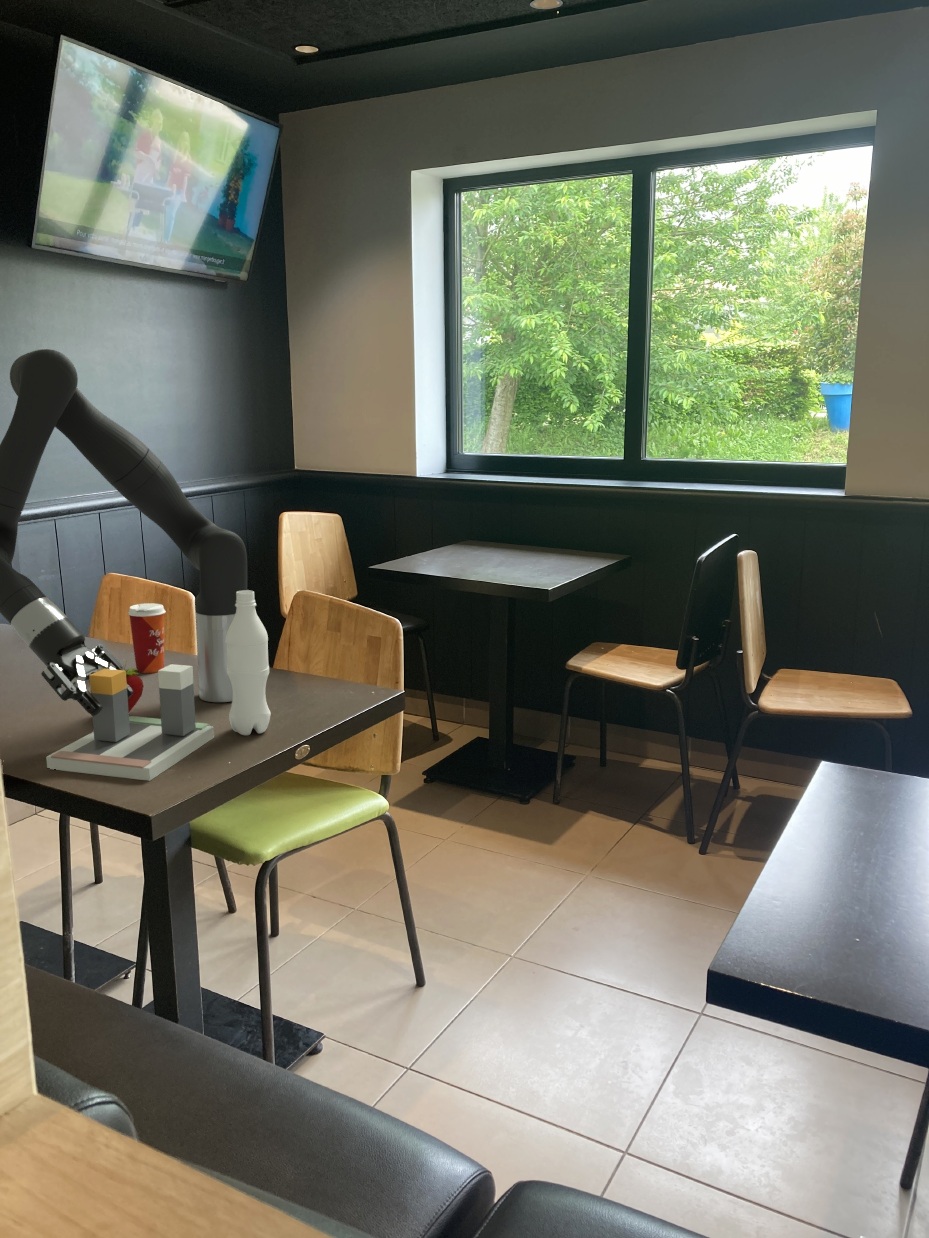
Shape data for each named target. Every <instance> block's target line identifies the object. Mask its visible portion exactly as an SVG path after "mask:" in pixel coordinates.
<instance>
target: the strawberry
mask: <svg viewBox="0 0 929 1238" xmlns="http://www.w3.org/2000/svg"><path fill="white" fill-rule="evenodd" d="M127 662H128V661H127V660H126V661H125V665H124V668H125V669H124V670H126V667H127ZM137 670H138V669H137V668H135V669H134V668H133V669H132V668H131V669H128V670H127V671H126V681H127V684H128V685H129V686H130V687H131V689H132V690H133V695H132V696H131V697H130V698H129V699H128V711H129V713H131V711H132V709H133V708H134V707H135V706H136V705H137V703H138V702H139V700H140V698H141V697H142V695H143V691H144V683H143V679H141V678H140V676H138V675H140V672H137Z"/></svg>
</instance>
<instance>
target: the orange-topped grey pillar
mask: <svg viewBox="0 0 929 1238" xmlns="http://www.w3.org/2000/svg"><path fill="white" fill-rule="evenodd" d="M126 672H127V671H126V669H125V670H114V669H102V670H100V671H98V672H95V673H93V674H91V675H89V678H90V679H89V689H90V691H89V692H90V693H91V694H92V695H93V696H94V697H95V698H96V700H97V701H98V702H99V703H100V704H101V705H102V707H103V708H102V710H101V711H100V712H99V713H98V714H97V715H95V716H92V727H93V728H92V729H93V732H94V740H102V741H111V742H117V741H119V740H120V739H122V738H124V737H126V736H127V735H129V734H130V725H129V716H130V712H129V711H128V696H127V681H126Z"/></svg>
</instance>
